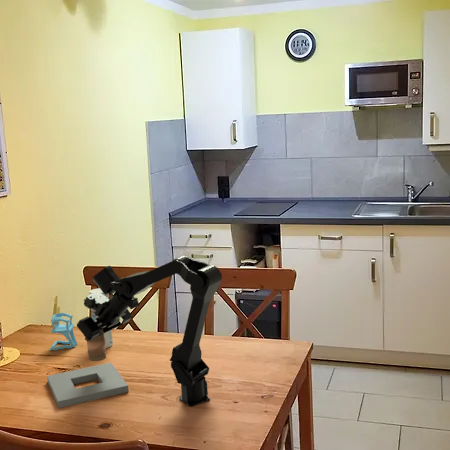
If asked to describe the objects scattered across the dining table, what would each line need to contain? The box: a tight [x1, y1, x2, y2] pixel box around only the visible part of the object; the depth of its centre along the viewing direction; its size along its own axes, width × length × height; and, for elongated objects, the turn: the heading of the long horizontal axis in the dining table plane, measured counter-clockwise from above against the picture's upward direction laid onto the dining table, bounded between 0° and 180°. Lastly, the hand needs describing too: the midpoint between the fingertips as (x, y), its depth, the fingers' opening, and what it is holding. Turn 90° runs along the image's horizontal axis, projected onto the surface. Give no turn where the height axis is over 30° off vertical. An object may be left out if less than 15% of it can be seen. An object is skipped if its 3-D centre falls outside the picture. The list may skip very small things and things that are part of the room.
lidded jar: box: [86, 328, 107, 362], centre depth 191 cm, size 5×5×10 cm
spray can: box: [88, 287, 114, 349], centre depth 220 cm, size 6×6×20 cm
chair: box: [49, 312, 78, 351], centre depth 222 cm, size 8×8×12 cm
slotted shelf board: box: [46, 362, 129, 409], centre depth 188 cm, size 20×20×2 cm
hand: (92, 336), depth 191 cm, fingers closed on lidded jar, 5 cm apart
